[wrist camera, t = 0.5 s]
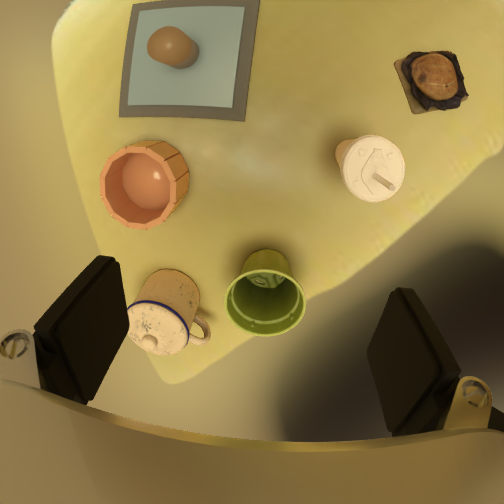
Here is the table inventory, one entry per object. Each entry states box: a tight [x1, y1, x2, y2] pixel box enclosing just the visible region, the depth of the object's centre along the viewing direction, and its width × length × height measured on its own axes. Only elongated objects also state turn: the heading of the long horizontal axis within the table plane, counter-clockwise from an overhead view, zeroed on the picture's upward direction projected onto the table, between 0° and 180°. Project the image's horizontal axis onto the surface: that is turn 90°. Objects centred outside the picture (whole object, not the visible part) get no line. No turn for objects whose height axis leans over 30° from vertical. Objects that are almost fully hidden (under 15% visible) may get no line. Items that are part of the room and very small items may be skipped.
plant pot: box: [224, 249, 306, 336], centre depth 37 cm, size 9×9×9 cm
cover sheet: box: [128, 6, 245, 108], centre depth 25 cm, size 13×13×7 cm
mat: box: [119, 0, 260, 121], centre depth 29 cm, size 16×16×1 cm
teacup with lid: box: [127, 269, 211, 355], centre depth 39 cm, size 12×9×12 cm
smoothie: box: [335, 135, 405, 202], centre depth 27 cm, size 6×6×14 cm
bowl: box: [100, 141, 189, 230], centre depth 34 cm, size 10×10×6 cm
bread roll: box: [394, 51, 469, 114], centre depth 26 cm, size 11×8×4 cm
